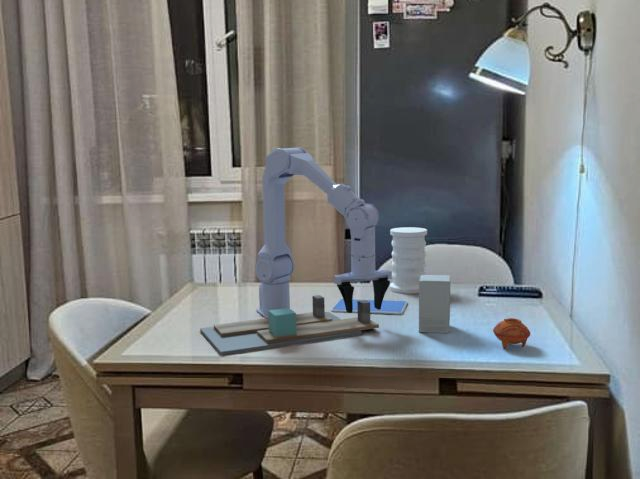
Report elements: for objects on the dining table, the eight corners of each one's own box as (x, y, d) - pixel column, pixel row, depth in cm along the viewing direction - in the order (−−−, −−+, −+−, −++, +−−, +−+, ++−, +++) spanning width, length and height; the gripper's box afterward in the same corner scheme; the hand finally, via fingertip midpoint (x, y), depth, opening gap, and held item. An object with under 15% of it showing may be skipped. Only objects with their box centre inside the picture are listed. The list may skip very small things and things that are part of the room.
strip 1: (213, 328, 170) (212, 305, 169) (320, 314, 180) (319, 292, 180) (222, 336, 163) (220, 312, 162) (332, 322, 173) (332, 299, 172)
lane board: (200, 331, 170) (200, 328, 170) (328, 314, 183) (328, 311, 183) (220, 355, 152) (220, 351, 152) (361, 335, 165) (361, 331, 165)
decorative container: (387, 293, 205) (387, 232, 203) (390, 284, 217) (390, 226, 214) (427, 294, 203) (428, 232, 201) (428, 285, 215) (428, 227, 212)
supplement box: (449, 333, 165) (450, 281, 162) (418, 332, 166) (418, 280, 164) (450, 325, 172) (450, 274, 170) (419, 323, 173) (420, 274, 171)
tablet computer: (329, 314, 186) (329, 309, 186) (339, 302, 198) (339, 297, 198) (402, 317, 182) (402, 312, 181) (408, 305, 194) (408, 300, 193)
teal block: (269, 331, 164) (268, 310, 163) (289, 328, 166) (288, 307, 165) (275, 336, 159) (275, 315, 158) (296, 334, 161) (295, 312, 160)
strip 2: (256, 334, 164) (256, 310, 163) (364, 319, 175) (363, 297, 174) (267, 343, 157) (266, 318, 156) (378, 327, 167) (378, 304, 167)
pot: (483, 342, 156) (489, 313, 156) (511, 346, 159) (517, 317, 159) (504, 351, 149) (511, 320, 149) (534, 355, 152) (540, 325, 152)
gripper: (342, 260, 161) (343, 317, 163) (397, 255, 167) (397, 310, 169) (330, 255, 168) (331, 310, 170) (384, 250, 173) (384, 304, 175)
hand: (363, 310), depth 170 cm, fingers open, 7 cm apart
